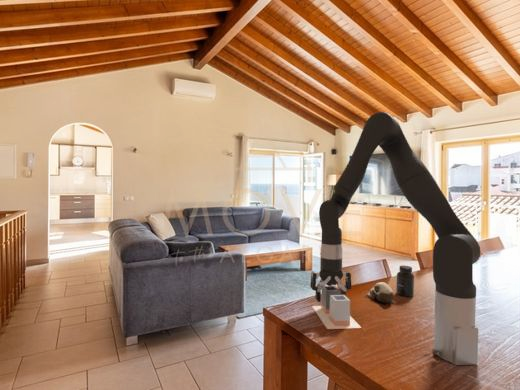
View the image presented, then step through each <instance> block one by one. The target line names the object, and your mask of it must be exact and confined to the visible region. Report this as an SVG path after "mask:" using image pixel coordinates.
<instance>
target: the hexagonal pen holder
mask: <svg viewBox="0 0 520 390" xmlns="http://www.w3.org/2000/svg"><path fill="white" fill-rule="evenodd" d="M350 316H351V299H349V298H348V297H347V295H346V296H345V295H330V320H331V321H332V323H333V324H334V325H335V326H340V325H350Z"/></svg>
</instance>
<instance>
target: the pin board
mask: <svg viewBox="0 0 520 390" xmlns="http://www.w3.org/2000/svg"><path fill="white" fill-rule="evenodd" d="M311 307H312V309H313V310H314V311H315V313H316V314H317V316H318V317H319V319H320V321H322V324H323V325H324V326H325V327H326V329H327V330H336V329H337V330H340V329H342V330H343V329H344V330H345V329H362V327H361V325H360V324H359V323H358V322H357V321H356V320H355V319H354V318H353V317H352V316H351V315H350V325H340V326H335V325H334V324H333V323H332V321H331V320H330V314H326V313H325V312H324V311H323V310H322V308H321V305H312V306H311Z"/></svg>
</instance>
